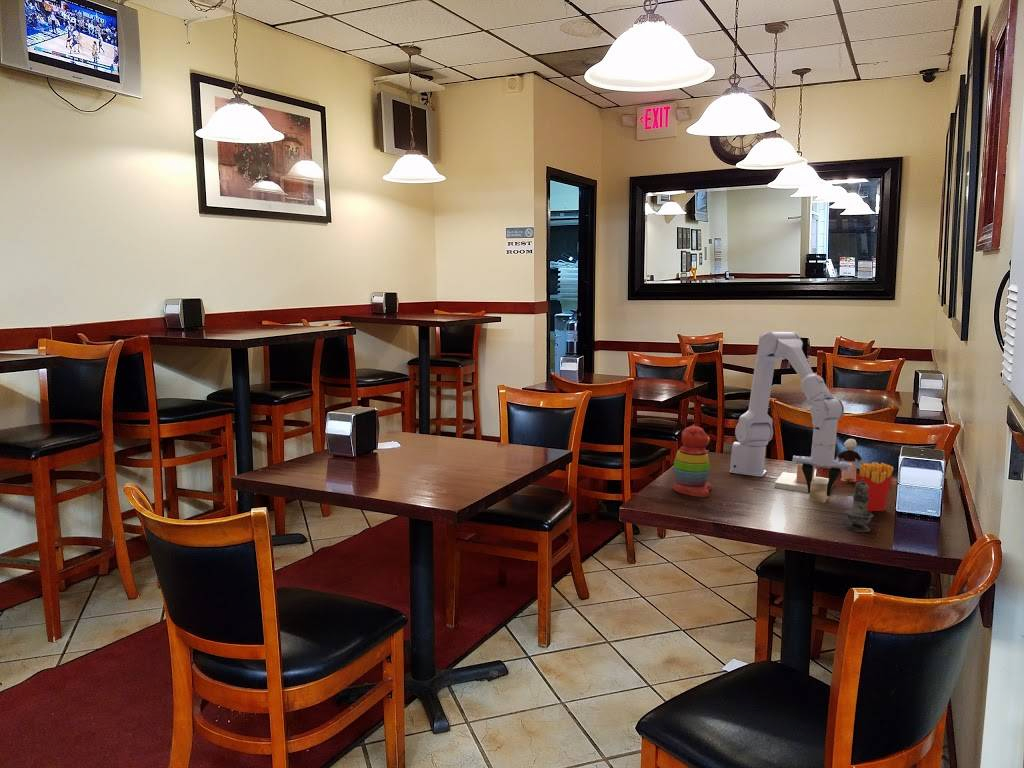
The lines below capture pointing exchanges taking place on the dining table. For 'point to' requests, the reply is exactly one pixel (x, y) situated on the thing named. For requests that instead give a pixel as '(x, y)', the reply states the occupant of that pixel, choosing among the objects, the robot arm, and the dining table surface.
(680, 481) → the stacking bear
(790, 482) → the tower plate
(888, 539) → the dining table surface
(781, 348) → the robot arm
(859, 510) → the grey stone statuette
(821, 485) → the birch brick
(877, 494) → the french fries
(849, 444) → the grandmother figurine
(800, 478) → the terracotta brick
